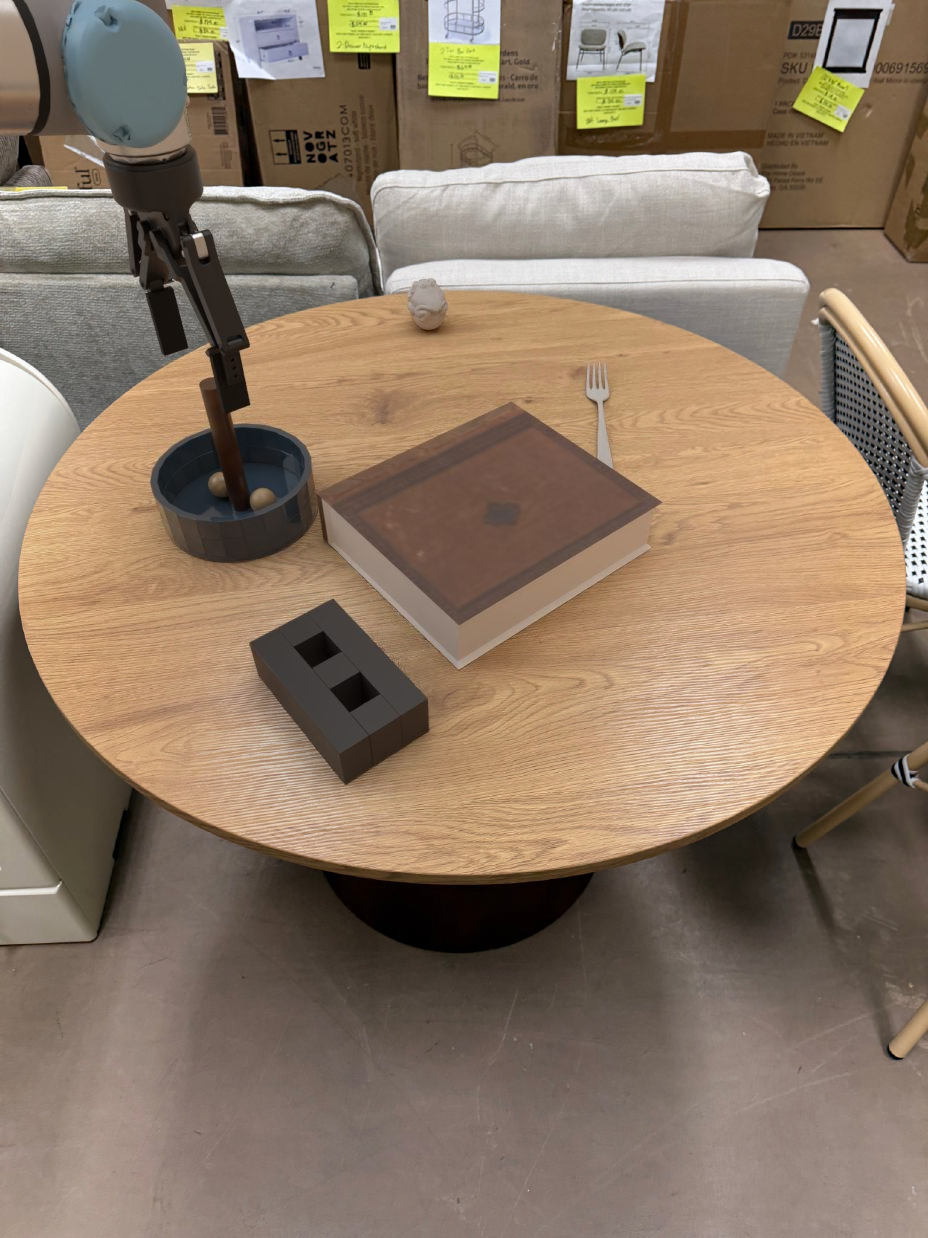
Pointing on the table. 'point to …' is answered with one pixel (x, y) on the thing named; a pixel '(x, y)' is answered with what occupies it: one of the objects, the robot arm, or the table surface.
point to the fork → (600, 413)
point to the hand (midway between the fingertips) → (204, 378)
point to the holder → (341, 689)
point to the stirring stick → (226, 447)
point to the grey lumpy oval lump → (427, 303)
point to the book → (486, 528)
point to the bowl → (211, 520)
